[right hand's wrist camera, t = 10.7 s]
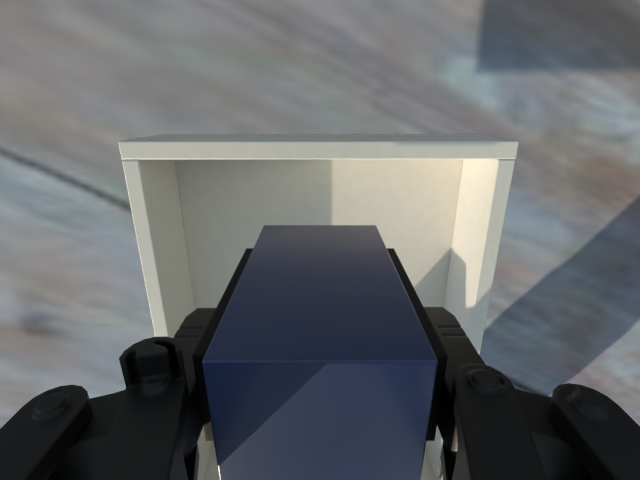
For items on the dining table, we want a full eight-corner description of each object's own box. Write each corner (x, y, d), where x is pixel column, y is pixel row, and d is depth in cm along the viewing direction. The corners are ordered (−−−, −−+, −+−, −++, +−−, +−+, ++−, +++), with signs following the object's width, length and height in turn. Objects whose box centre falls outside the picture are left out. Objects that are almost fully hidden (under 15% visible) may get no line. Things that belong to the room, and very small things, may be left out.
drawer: (161, 134, 20) (56, 149, 12) (476, 134, 20) (579, 149, 12) (207, 451, 28) (164, 584, 20) (430, 450, 28) (474, 583, 20)
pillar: (263, 224, 14) (200, 361, 7) (376, 224, 14) (439, 361, 7) (269, 320, 16) (223, 516, 8) (370, 320, 16) (416, 516, 8)
